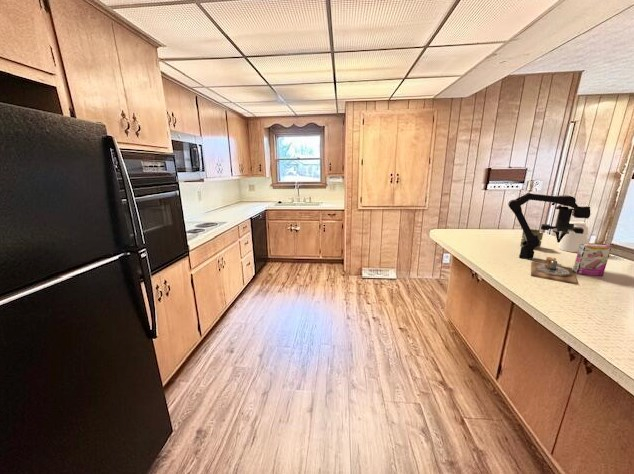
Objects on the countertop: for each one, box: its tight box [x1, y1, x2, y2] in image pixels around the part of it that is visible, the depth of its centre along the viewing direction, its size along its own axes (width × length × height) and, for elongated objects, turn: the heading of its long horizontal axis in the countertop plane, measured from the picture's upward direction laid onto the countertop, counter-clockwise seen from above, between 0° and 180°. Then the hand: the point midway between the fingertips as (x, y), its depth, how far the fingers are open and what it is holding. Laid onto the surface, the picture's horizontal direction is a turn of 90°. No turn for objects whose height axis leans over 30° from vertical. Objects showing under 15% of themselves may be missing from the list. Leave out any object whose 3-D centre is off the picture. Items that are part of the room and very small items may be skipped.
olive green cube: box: [520, 228, 544, 250], centre depth 191 cm, size 11×12×11 cm
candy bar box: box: [572, 243, 612, 277], centre depth 143 cm, size 11×5×16 cm, turn 71°
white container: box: [558, 220, 589, 253], centre depth 182 cm, size 12×12×20 cm
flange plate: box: [536, 256, 570, 276], centre depth 148 cm, size 18×13×4 cm
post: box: [550, 260, 558, 271], centre depth 146 cm, size 2×2×7 cm
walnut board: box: [530, 261, 578, 285], centre depth 147 cm, size 18×24×1 cm
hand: (558, 242), depth 161 cm, fingers closed
